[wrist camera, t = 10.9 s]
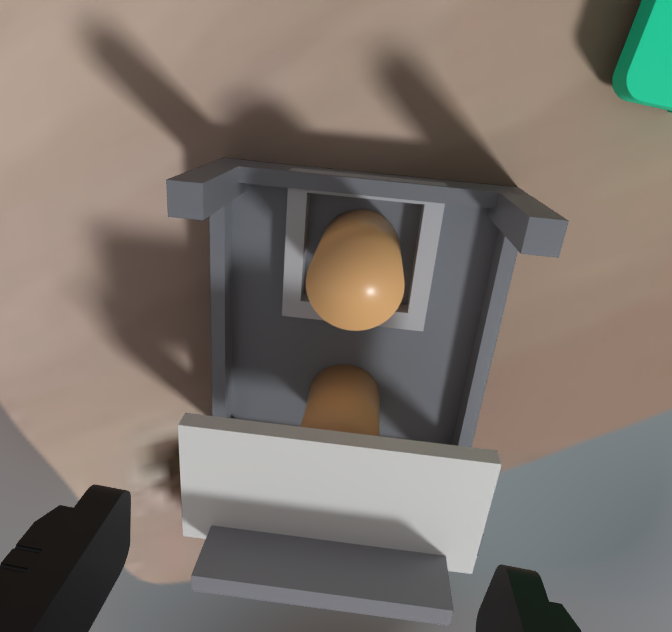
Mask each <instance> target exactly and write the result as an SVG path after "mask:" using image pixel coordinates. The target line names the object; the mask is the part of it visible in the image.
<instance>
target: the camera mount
mask: <svg viewBox="0 0 672 632" xmlns="http://www.w3.org/2000/svg"><path fill="white" fill-rule="evenodd" d="M612 84H613V89H614V91H615V93H616V94H617V96H618V97H620V98H621V99H623V100H625V101H629V102H634V103H638V104H642V105H647V106H651V107H656V108H660V109H665V110H669V112H671V113H672V0H642V1H641V4H640V6H639V9H638V11H637V14H636V17H635V19H634V22H633V24H632V27H631V30H630V32H629V35H628V37H627V40H626V42H625V45H624V48H623V50H622V53H621V55H620V58H619V61H618V63H617V66H616V68H615V71H614V74H613V79H612Z"/></svg>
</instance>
